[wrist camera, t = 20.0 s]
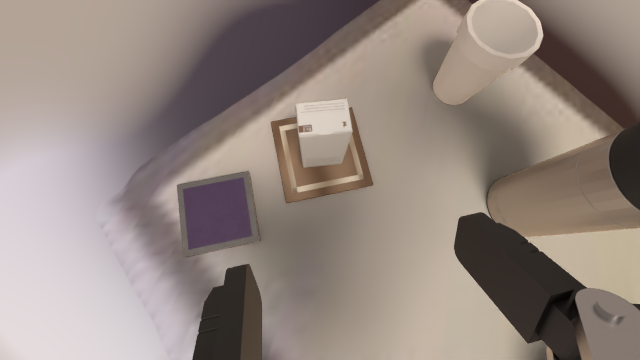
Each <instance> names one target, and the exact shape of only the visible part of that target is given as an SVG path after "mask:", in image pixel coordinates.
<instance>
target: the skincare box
mask: <svg viewBox="0 0 640 360" xmlns="http://www.w3.org/2000/svg"><path fill="white" fill-rule="evenodd" d="M295 108H296V117H297V127H298V137H299V142H300V150H301V157H302V165H303V167H304V168H306V167H317V166H327V165H337V164H342V162H343V159H344V156H345V153H346V150H347V147H348V144H349V141H350V138H351V135H352V132H353V130H352V125H351V119H350V113H349V107H348V100H347V99H338V100H329V101H319V102H308V103H297V104H295Z"/></svg>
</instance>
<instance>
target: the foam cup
mask: <svg viewBox="0 0 640 360" xmlns="http://www.w3.org/2000/svg"><path fill="white" fill-rule="evenodd" d="M542 38H543V31H542V27H541V22H540V20H539V19H538V18H537V16H536V15H535V14H534V12H533V11H532V10H531V9H530V8H528V7H527V6H526V5H524V4H522V3H521V2H519V1H518V0H479V1H477V2H476V3H474V4H473V5H472V6H471V7H470V9H469V10H468V12H467V13H466V15H465V17H464V18H463V20H462V21H461V24H460V26H459V28H458V30H457V35H456V37H455V39H454V41H453V43H452V45H451V47H450V49H449V51H448V53H447V55H446V57H445V59H444V61H443V63H442V65H441V67H440V70H439V72H438V74H437V76H436V78H435V80H434V82H433V91H434V93H435V95H436V96H437V98H438V99H440V100H441V101H442V102H444V103H446V104H450V105H458V104H462V103H463V102H465V101H466V100H468V99H469V98H470V97H472V96H473V95H475V94H476V93H477V92H479V91H480V90H482V89H483V88H485V87H486V86H487V85H489V84H490V83H492V82H493V81H495V80H496V79H497V78H499V77H500V76H502V75H503V74H504V73H506V72H507V71H509V70H513V69H514V68H516V67H517V66H518V65H520V64H521V63H522V62H524V61H525V60H526V59H527V58H528V57H529V56H530V55H532V54H533V53H534V52H535V51H536V50H537V49H538V48H539V46H540V43H541V40H542Z"/></svg>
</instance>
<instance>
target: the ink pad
mask: <svg viewBox="0 0 640 360" xmlns="http://www.w3.org/2000/svg"><path fill="white" fill-rule="evenodd" d="M177 191H178V202H179V214H180V225H181V236H182V247H183V257H190V256H195V255H199V254H204V253H208V252H213V251H217V250H222V249H227V248H231V247H236V246H240V245H245V244H249V243H254V242H259V241H260V234H259V228H258V222H257V216H256V209H255V203H254V197H253V191H252V184H251V178H250V173H249V172H248V171H247V172H242V173H237V174H232V175H226V176H221V177H216V178H211V179H206V180H201V181H195V182H190V183H185V184H180V185H177Z"/></svg>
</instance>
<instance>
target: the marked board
mask: <svg viewBox="0 0 640 360" xmlns="http://www.w3.org/2000/svg"><path fill="white" fill-rule="evenodd" d="M349 113H350V119H351V125H352V130H353V132H352V135H351V138H350V141H349V144H348V147H347V150H346V153H345V156H344V159H343V162H342V164H337V165H327V166H317V167H306V168H304V167H303V165H302V157H301V150H300V142H299V137H298V127H297V117H295V118H289V119H283V120H278V121H272V122H271V125H272V130H273V136H274V141H275V146H276V151H277V157H278V162H279V167H280V172H281V178H282V183H283V188H284V193H285V199H286V203H290V202H295V201H300V200H305V199H310V198H314V197H319V196H324V195H329V194H334V193H338V192H343V191H348V190H353V189H358V188H363V187H367V186H372V185H373V182H372V179H371V175H370V171H369V168H368V164H367V160H366V157H365V153H364V150H363V146H362V142H361V139H360V135H359V132H358V128H357V124H356V121H355V117H354V114H353V110H352V107H351V108H349Z"/></svg>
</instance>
